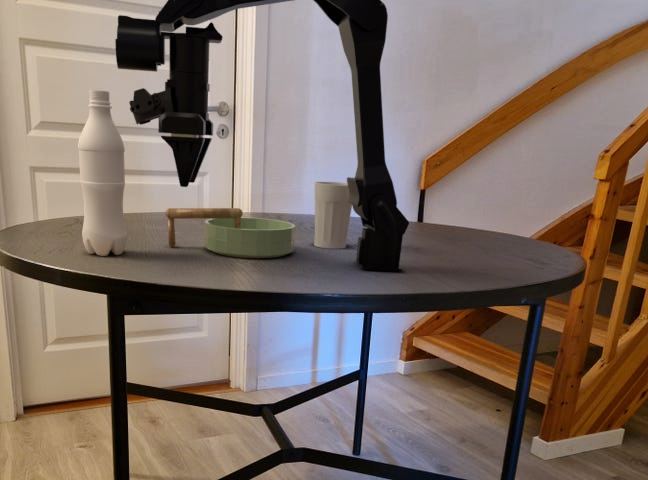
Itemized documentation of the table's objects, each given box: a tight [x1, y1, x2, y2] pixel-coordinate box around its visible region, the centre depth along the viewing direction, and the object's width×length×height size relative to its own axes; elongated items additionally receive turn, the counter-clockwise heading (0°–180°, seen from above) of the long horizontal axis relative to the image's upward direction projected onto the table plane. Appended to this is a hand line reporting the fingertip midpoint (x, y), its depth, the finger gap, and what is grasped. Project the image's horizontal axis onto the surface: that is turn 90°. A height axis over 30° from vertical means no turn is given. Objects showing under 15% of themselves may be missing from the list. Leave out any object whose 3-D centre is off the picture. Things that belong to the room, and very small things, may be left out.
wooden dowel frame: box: [165, 207, 244, 248], centre depth 111 cm, size 18×5×7 cm, turn 91°
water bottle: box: [77, 89, 128, 257], centre depth 99 cm, size 7×7×25 cm
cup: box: [313, 181, 353, 250], centre depth 120 cm, size 8×8×12 cm
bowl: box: [203, 216, 296, 259], centre depth 112 cm, size 16×16×5 cm
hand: (187, 184), depth 96 cm, fingers open, 9 cm apart
